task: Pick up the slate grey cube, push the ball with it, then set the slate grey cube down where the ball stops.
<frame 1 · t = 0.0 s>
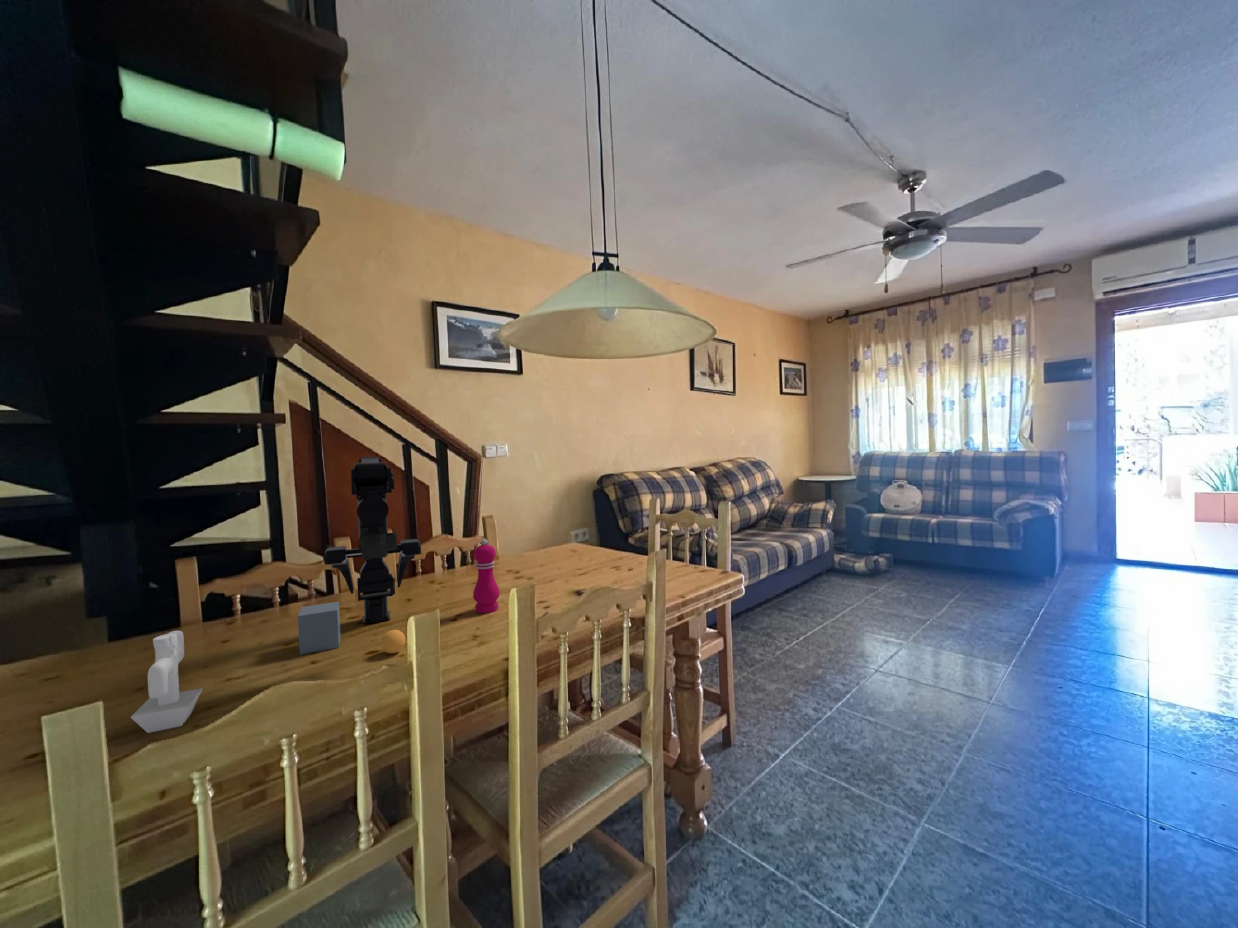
hand: (376, 590, 109), 15 cm above the table, tool pointing down, fingers open, 9 cm apart
slate grey cube: (321, 645, 117), on the table
pepper mill: (487, 610, 140), on the table
figurine: (170, 724, 83), on the table
ball: (393, 641, 111), on the table
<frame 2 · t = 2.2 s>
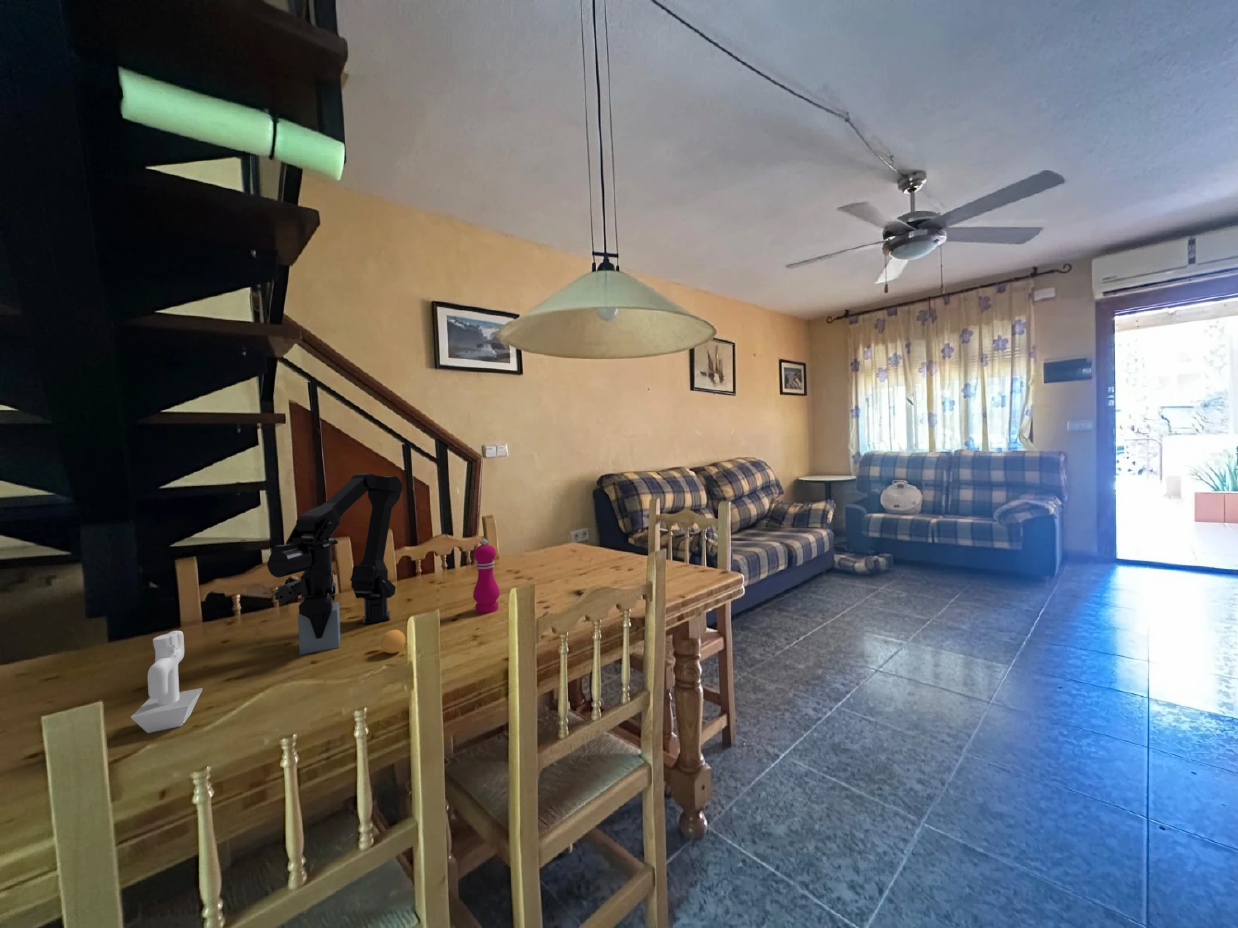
hand: (320, 632, 117), 3 cm above the table, tool pointing down, fingers closed on slate grey cube, 8 cm apart
slate grey cube: (320, 645, 117), on the table, touching gripper
everything else where it was.
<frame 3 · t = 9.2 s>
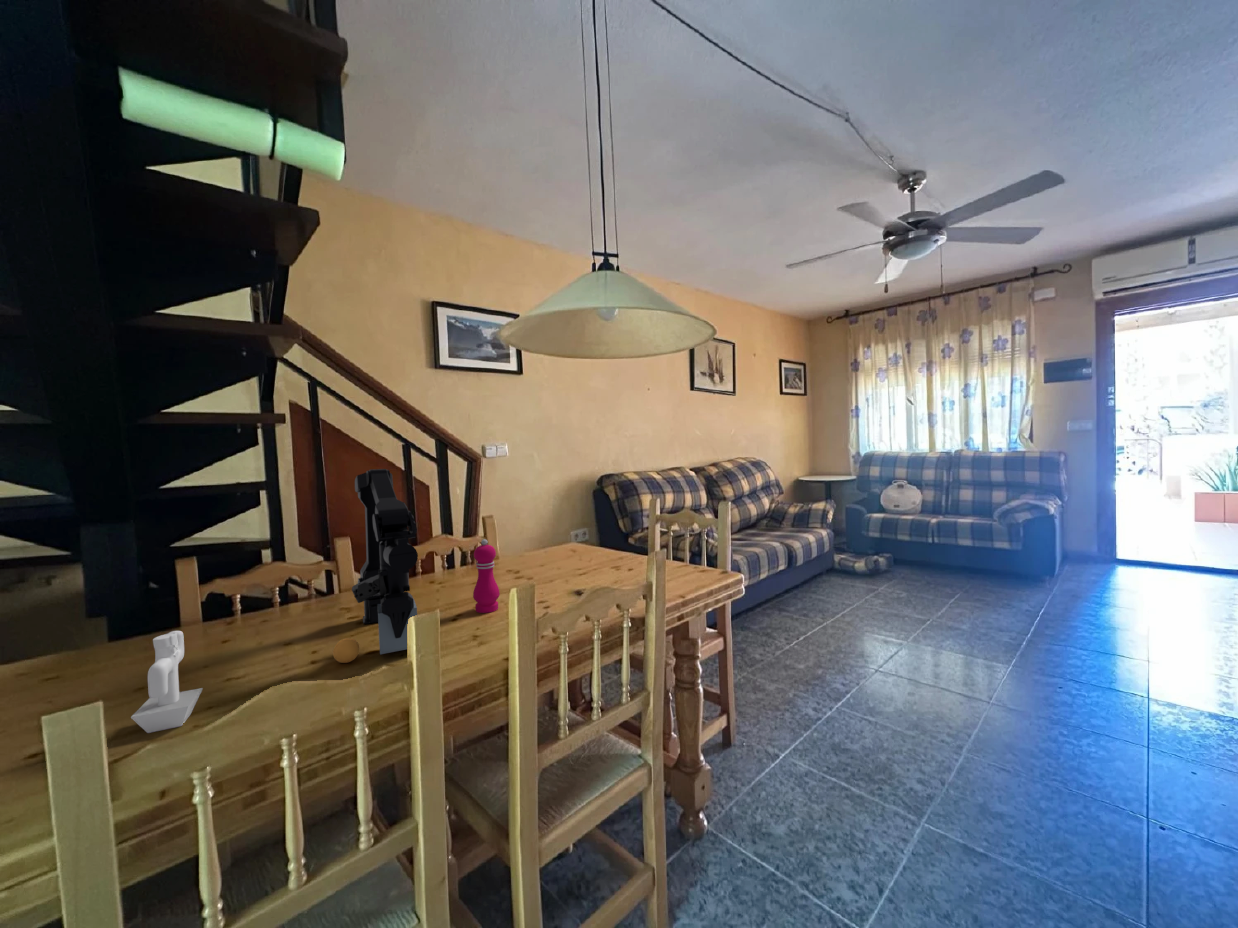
hand: (397, 632, 111), 4 cm above the table, tool pointing down, fingers closed on slate grey cube, 8 cm apart
slate grey cube: (398, 644, 111), point 2 cm above the table, touching gripper
ball: (346, 650, 107), on the table
everything else where it was.
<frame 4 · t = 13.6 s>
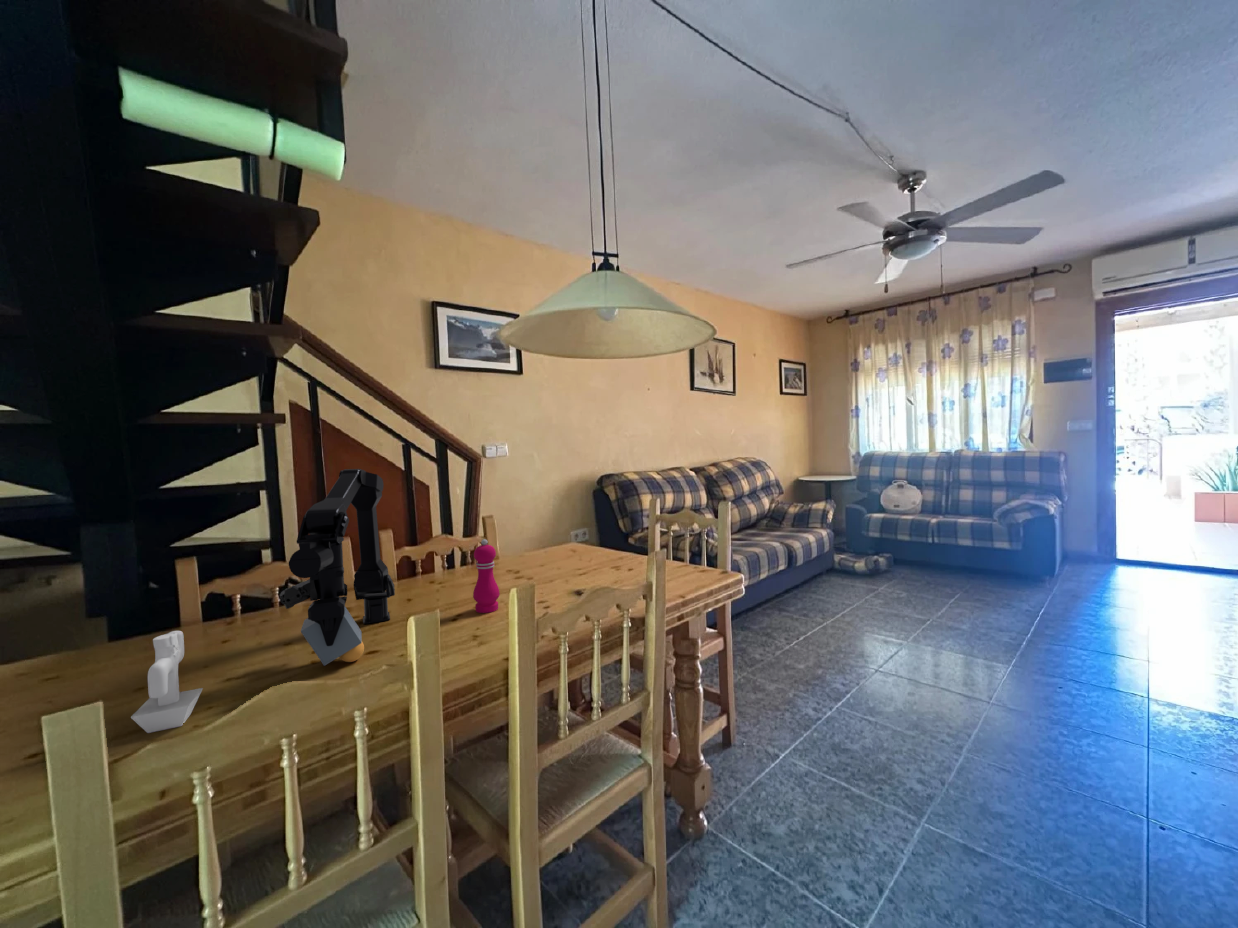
hand: (331, 639, 105), 5 cm above the table, tool pointing down, fingers closed on slate grey cube, 8 cm apart
slate grey cube: (343, 647, 107), point 3 cm above the table, tilted 25°, touching gripper
when the fingers open (4 cm above the table, at t = 14.6 s): slate grey cube drops 2 cm, on the table.
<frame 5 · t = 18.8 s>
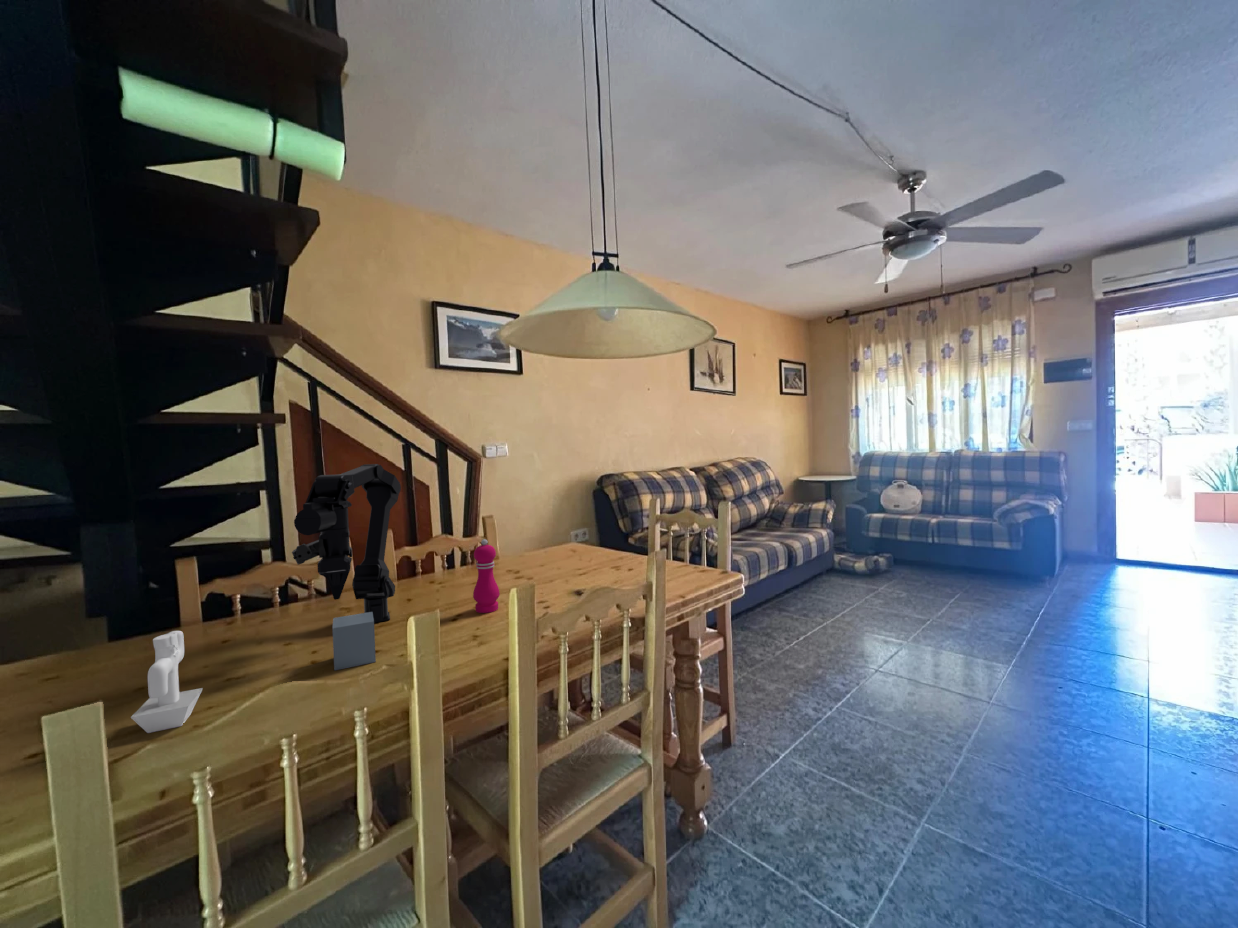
hand: (337, 594, 116), 12 cm above the table, tool pointing down, fingers open, 9 cm apart
slate grey cube: (355, 659, 108), on the table
at the end: ball 0.1 cm from the slate grey cube (horizontally); slate grey cube on the table; ball moved 7.7 cm from its start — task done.
